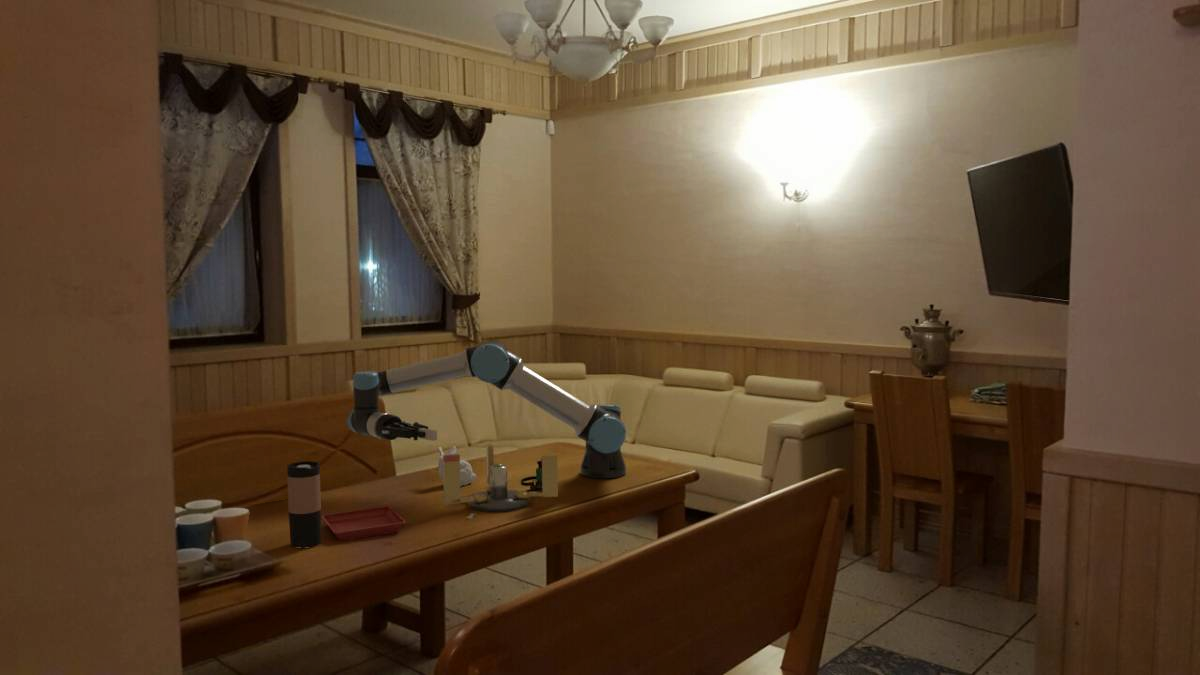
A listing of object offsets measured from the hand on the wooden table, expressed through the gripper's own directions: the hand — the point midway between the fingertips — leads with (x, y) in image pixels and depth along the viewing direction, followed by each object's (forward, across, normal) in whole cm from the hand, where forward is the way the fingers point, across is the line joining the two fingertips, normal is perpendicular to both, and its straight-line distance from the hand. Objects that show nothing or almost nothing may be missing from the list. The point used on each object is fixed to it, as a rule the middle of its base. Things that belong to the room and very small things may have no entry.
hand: (434, 435), depth 248 cm
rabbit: (-17, -21, -21) cm, 34 cm away
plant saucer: (+2, +26, -22) cm, 33 cm away
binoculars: (+10, -30, -21) cm, 38 cm away
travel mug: (+2, +42, -21) cm, 47 cm away
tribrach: (+15, -15, -21) cm, 29 cm away
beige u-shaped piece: (+9, -4, -18) cm, 21 cm away
